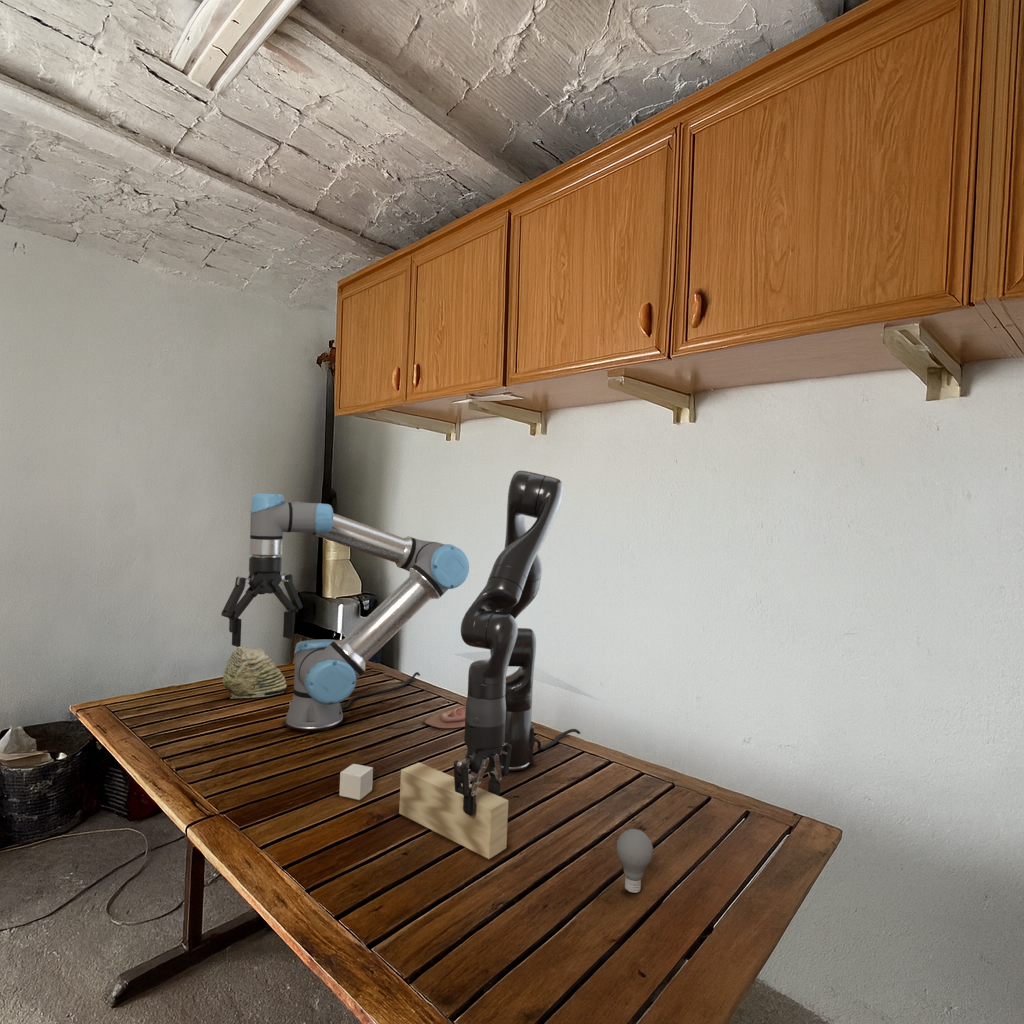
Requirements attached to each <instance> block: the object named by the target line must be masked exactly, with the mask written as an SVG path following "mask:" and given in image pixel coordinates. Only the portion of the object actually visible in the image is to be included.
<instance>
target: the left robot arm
mask: <svg viewBox="0 0 1024 1024" xmlns="http://www.w3.org/2000/svg"><path fill="white" fill-rule="evenodd" d="M250 505H251V507H250V512H249V513H250V522H249V523H250V525H249V528H250V529H249V530H250V531H249V555H251V556H250V557H249V558H248V572H249V575H248V577H242V576H236V577H235V583H234V587H233V589H232V591H231V593H230V594H229V597H228V599H227V601H226V603H225V605H224V607H223V609H222V611H221V613H220V615H221V617H225V618H227V619H228V621H229V623H228V631H229V633H231V646H233V647H236V648H238V647H242V646H241V645H242V643H241V641H242V618H240V617H241V615H242V614H243V613H244V611H245V610H246V608H248V606H249V605H250V604H251V602H252V601H253V600H254V598H256V597H257V596H258V595H266V594H271V595H272V594H273V595H274V596H275V597H276V598H277V600H278V601H279V602H280V603H281V604H282V606H283V607H284V608H285V609H286V611H283V632H282V637H283V638H286V639H293V625H295V622H296V613H298V612H299V610H302V609H303V607H304V606H303V604H302V601H301V598H300V596H299V594H298V591H297V590H296V587H295V584H294V579H293V575H292V574H290V573H286V572H285V573H283V574H282V573H281V572H282V568H283V567H282V566H283V564H282V563H283V558H282V557H281V555H283V537H284V536H283V534H284V533H303V534H305V533H307V534H309V535H313V536H315V537H319V538H322V539H325V540H327V541H331V542H333V543H336V544H340V545H341V546H344V547H348V548H351V549H354V550H357V551H360V552H362V553H366V554H368V555H372V556H375V557H377V558H380V559H382V560H383V559H384V560H386V561H390V562H392V563H394V564H395V566H396V567H397V568H399V569H402V570H405V571H407V572H409V573H408V574H409V575H408V577H407V578H406V579H405V580H404V581H403V582H402V583H401V584H400V585H399V586H398V587H397V588H396V589H395V590H394V591H392V593H391V594H390V595H388V596H387V597H386V598H385V599H384V600H383V601H382V602H381V603H380V604H379V605H378V606H377V607H376V608H374V609H373V610H372V611H371V613H370V614H368V615H367V616H366V617H365V618H364V619H363V620H362V621H361V622H360V623H359V624H358V625H357V626H356V627H354V629H353V630H352V631H351V632H350V633H348V634H347V635H346V636H345V638H343V639H328V638H327V639H307V640H302V641H299V642H297V643H296V644H295V648H294V649H295V650H294V672H293V673H294V674H293V675H294V676H293V678H294V679H293V695H292V696H293V697H292V699H291V701H289V708H288V711H287V713H286V715H285V726H286V728H287V729H289V730H291V731H294V732H295V731H296V732H301V733H316V732H325V731H329V730H332V729H335V728H337V727H339V726H340V725H342V723H343V722H344V714H343V710H344V709H347V708H349V707H350V706H351V705H350V704H351V703H352V702H353V701H354V700H356V699H360V698H364V697H370V696H374V695H378V694H383V693H388V692H391V691H395V690H398V689H401V688H404V687H406V686H407V685H409V684H410V683H411V682H412V681H413V680H414V679H415V677H416V676H418V677H420V676H421V673H419V671H416V672H414V674H413V675H412V676H411V677H410V678H409V679H408V680H407V681H405V682H404V683H402V684H400V685H396V686H393V687H390V688H385V689H381V690H376V691H371V692H366V693H361V694H358V695H354V696H353V697H350V696H351V695H352V693H353V692H354V690H355V688H356V685H357V681H358V679H360V678H361V676H362V675H363V674H364V673H366V666H367V665H366V664H367V662H368V661H369V660H370V659H371V658H372V657H373V656H374V655H376V654H377V652H379V650H381V649H382V648H383V647H384V646H385V644H387V643H388V641H390V640H391V639H392V638H393V637H394V636H395V635H396V633H398V632H399V631H400V630H401V629H402V628H403V627H404V626H405V625H406V624H407V623H408V622H409V621H410V620H411V619H412V618H413V617H414V616H415V615H416V614H418V612H419V611H421V609H422V608H423V607H424V606H425V605H426V604H427V603H428V602H429V601H431V600H439V599H440V598H442V596H444V594H446V592H447V591H448V590H453V589H457V588H458V587H461V586H462V585H463V584H464V583H465V582H466V580H467V578H468V577H469V572H470V562H469V558H468V556H467V554H466V553H465V552H464V551H463V550H462V549H461V548H459V547H457V546H455V545H453V544H449V543H446V544H445V543H442V542H437V541H430V540H423V539H418V538H414V537H412V536H405V537H403V536H402V537H401V536H399V535H396V534H394V533H390V532H388V531H385V530H382V529H380V528H377V527H373V526H371V525H368V524H366V523H363V522H359V521H357V520H354V519H351V518H348V517H345V516H342V515H340V514H338V513H334V509H333V507H332V505H331V504H329V503H321V502H305V501H299V500H297V501H294V502H289V501H285V496H284V495H283V494H280V493H260V492H259V493H258V492H257V493H255V494H254V495H252V497H251V504H250ZM281 582H282V583H283V586H284V589H285V591H286V593H287V594H285V592H284V590H283V589H282V588H281V585H280V584H281ZM247 586H249V587H248V588H246V587H247ZM245 588H246V590H245ZM244 591H245V593H244ZM243 593H244V595H243ZM242 595H243V596H242ZM287 595H288V596H287ZM348 698H349V699H348ZM347 699H348V701H347V703H346V704H345V705H341V703H342V702H344V701H346V700H347Z"/></svg>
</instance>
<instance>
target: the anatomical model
mask: <svg viewBox="0 0 1024 1024" xmlns="http://www.w3.org/2000/svg"><path fill="white" fill-rule="evenodd" d="M465 711H466V705H462V706H459V707H454V708H452V709H450V710H447V711H444V712H441V713H437V714H434V715H432V716H429V717H428V718H426V719H425V720H424V723H425V724H426V725H429V726H431V727H434V728H437V729H457V728H463V727H464V728H465Z"/></svg>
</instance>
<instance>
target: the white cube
mask: <svg viewBox="0 0 1024 1024" xmlns="http://www.w3.org/2000/svg"><path fill="white" fill-rule="evenodd" d="M373 775H374V767H373V766H369V765H362V764H357V763H351V764H350V765H349V766H348V767H346V768H344V769H343V770H341V772H340V773H339V794H338V795H339V797H344V798H348V799H352V800H357V801H361V800H362V799H363V798H364V797H366V796H367V795H369V794H370V793H371V792H372V791H373V783H374V781H373V779H374V778H373V777H374V776H373Z"/></svg>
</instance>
